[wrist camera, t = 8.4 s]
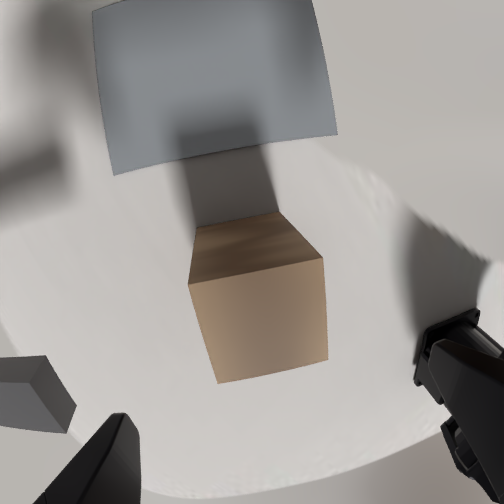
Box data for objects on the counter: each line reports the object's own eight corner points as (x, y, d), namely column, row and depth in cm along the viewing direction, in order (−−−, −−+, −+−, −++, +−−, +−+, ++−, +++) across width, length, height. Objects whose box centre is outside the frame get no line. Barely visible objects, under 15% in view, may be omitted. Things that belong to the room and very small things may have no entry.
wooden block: (279, 211, 17) (322, 257, 10) (289, 285, 18) (328, 359, 12) (196, 227, 16) (187, 284, 10) (214, 300, 18) (218, 383, 11)
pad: (304, -22, 12) (305, -23, 12) (336, 134, 16) (337, 134, 15) (93, 12, 11) (92, 11, 11) (114, 175, 15) (113, 175, 15)
